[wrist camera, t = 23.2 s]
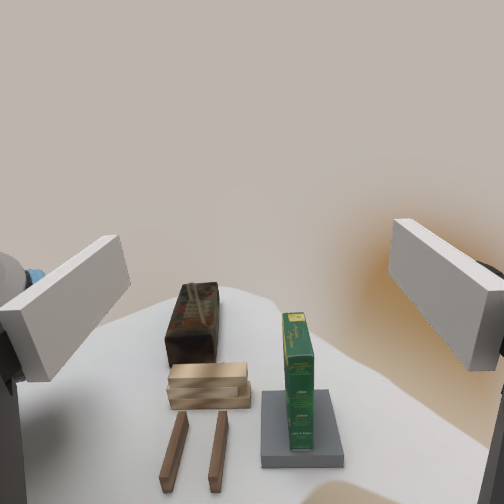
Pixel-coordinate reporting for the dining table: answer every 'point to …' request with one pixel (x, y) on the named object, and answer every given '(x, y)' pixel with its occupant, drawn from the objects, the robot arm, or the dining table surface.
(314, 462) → the stand pad
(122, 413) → the dining table surface
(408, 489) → the dining table surface
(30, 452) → the dining table surface
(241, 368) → the offcut stack
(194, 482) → the dining table surface
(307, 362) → the coffee box
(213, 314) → the beverage carton
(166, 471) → the walnut rack
